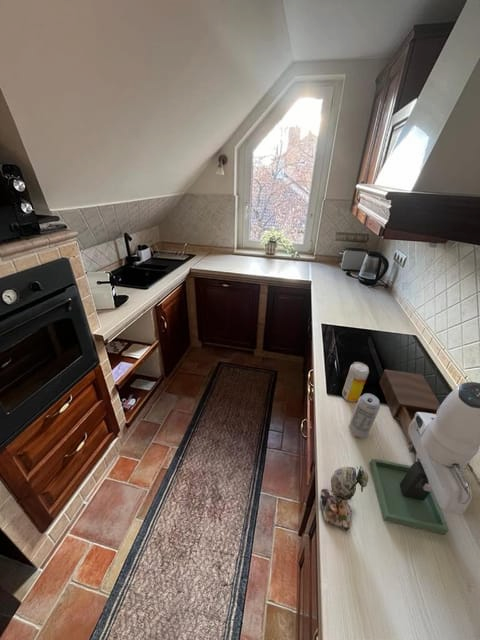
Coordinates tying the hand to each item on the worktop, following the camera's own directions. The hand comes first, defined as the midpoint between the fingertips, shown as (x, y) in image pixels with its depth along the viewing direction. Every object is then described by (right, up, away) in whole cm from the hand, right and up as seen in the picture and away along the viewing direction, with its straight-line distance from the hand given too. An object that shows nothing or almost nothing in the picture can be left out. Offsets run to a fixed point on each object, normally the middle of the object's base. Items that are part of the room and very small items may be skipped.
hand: (422, 478), depth 63 cm
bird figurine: (-21, -8, +2) cm, 23 cm away
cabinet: (+16, +9, +32) cm, 37 cm away
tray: (-2, -7, +4) cm, 8 cm away
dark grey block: (0, -6, +4) cm, 7 cm away
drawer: (+13, +2, +18) cm, 22 cm away
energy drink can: (-7, +3, +21) cm, 22 cm away
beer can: (-4, +10, +33) cm, 35 cm away
